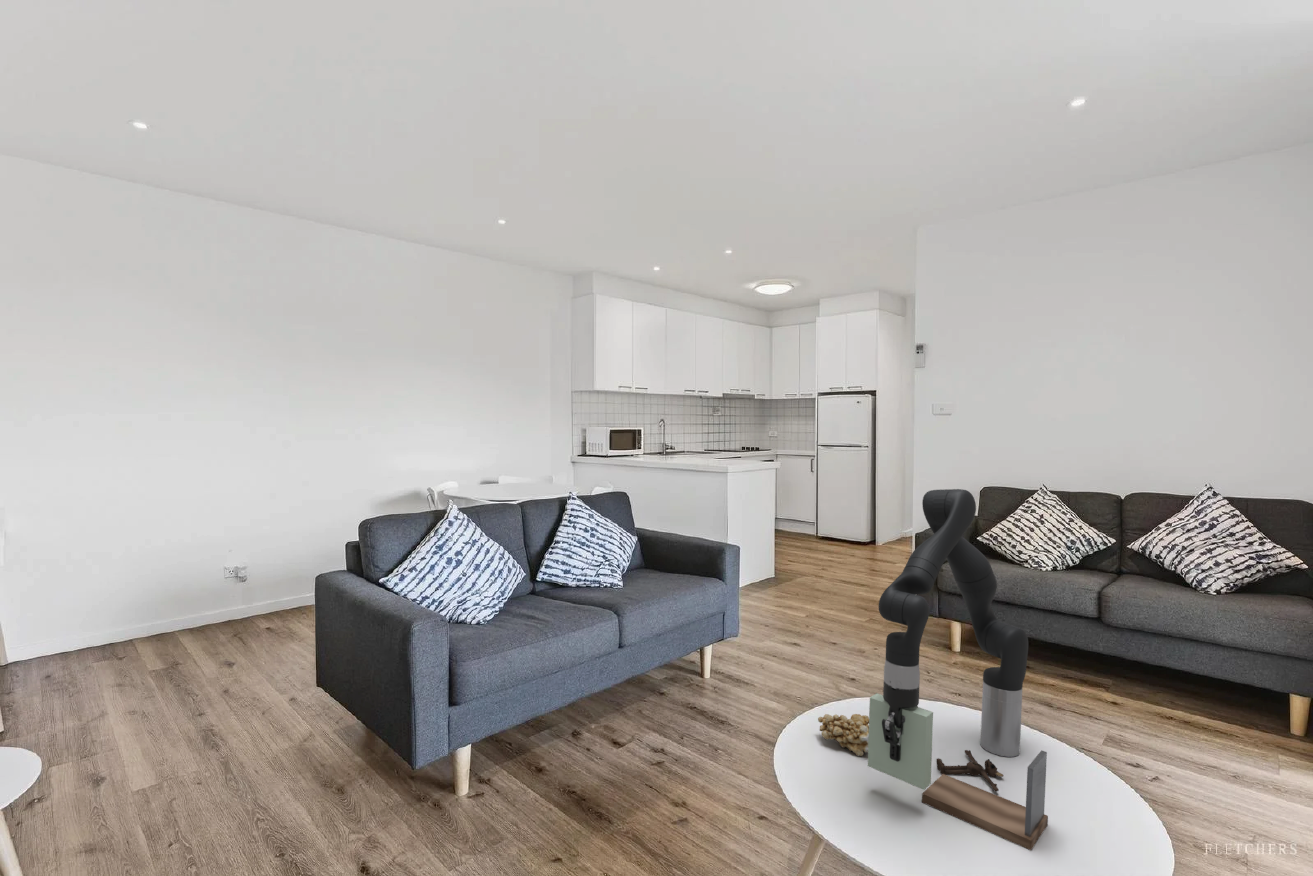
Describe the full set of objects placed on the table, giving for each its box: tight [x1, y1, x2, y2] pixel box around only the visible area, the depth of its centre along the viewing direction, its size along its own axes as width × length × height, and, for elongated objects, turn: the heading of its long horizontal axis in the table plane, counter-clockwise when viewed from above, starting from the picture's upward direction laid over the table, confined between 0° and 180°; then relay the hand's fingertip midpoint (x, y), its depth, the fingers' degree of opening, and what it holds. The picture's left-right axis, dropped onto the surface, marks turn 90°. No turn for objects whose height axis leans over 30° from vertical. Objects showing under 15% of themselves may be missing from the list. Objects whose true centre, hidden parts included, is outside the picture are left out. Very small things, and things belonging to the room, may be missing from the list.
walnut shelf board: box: [921, 774, 1049, 851], centre depth 141 cm, size 12×22×2 cm, turn 45°
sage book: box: [867, 692, 934, 791], centre depth 144 cm, size 4×13×16 cm, turn 45°
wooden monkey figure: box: [936, 749, 1004, 793], centre depth 157 cm, size 18×4×14 cm
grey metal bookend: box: [1025, 750, 1048, 837], centre depth 134 cm, size 10×1×14 cm, turn 135°
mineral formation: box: [817, 713, 869, 757], centre depth 171 cm, size 8×13×15 cm
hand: (898, 756), depth 144 cm, fingers closed on sage book, 3 cm apart
